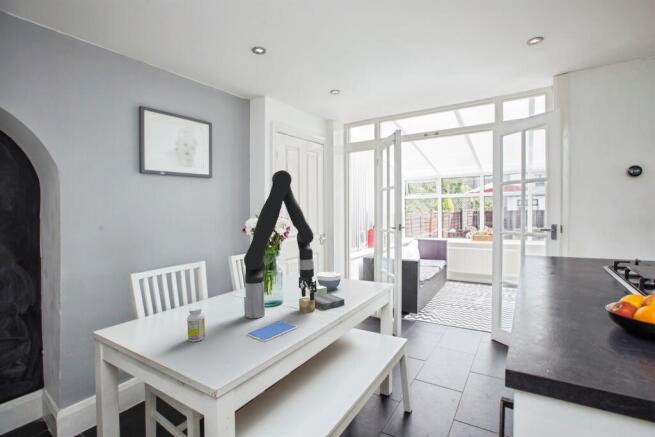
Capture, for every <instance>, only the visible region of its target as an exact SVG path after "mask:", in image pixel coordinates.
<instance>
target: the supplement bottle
mask: <svg viewBox="0 0 655 437" xmlns="http://www.w3.org/2000/svg"><path fill="white" fill-rule="evenodd" d="M186 321H187V340H188V341H189V342H191V341H192V342H193V343H196V341H197V342H200V340H201V341H203V340H204V339H205V338H206V323H205V322H206V321H205V314H204V313H202V307H200V306H199V307H198V306H197V307H196V306H195V307H191V308H190V309H189V313H188V316H187V318H186Z"/></svg>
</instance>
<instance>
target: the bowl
mask: <svg viewBox="0 0 655 437" xmlns="http://www.w3.org/2000/svg"><path fill="white" fill-rule="evenodd" d="M316 279H317V283H318V286H324V287H327V291H333V289H334V290H336V289H337V288H338V286H339V285H340V283H341V279H342V274H341V272H338V271H322V272H317V273H316Z"/></svg>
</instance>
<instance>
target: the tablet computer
mask: <svg viewBox="0 0 655 437" xmlns="http://www.w3.org/2000/svg"><path fill="white" fill-rule="evenodd" d="M296 329H298V326H297V325H294V324H291V323H288V322H284V321H282V320H277V321H275V322H273V323H270V324H268V325H265V326H263V327H260V328H257V329H255V330H252V331H249V332H247V333H246V336H247V337H250V338H253V339H255V340H258V341H260V342H263V343H266V342H268V341H271V340H272V339H276V338H277V337H279V336H283V335H284V334H287V333H289V332H291V331H293V330H296Z"/></svg>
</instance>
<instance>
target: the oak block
mask: <svg viewBox="0 0 655 437" xmlns="http://www.w3.org/2000/svg"><path fill="white" fill-rule="evenodd" d="M298 308H299V309H298V310H299V311H300V312H302V313H305V314H307V313H311V312H314V311H316V306H315V299H314V300H312V301H311V300H310V296H307V297H306V296H305V297H302V298H299V299H298Z"/></svg>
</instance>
